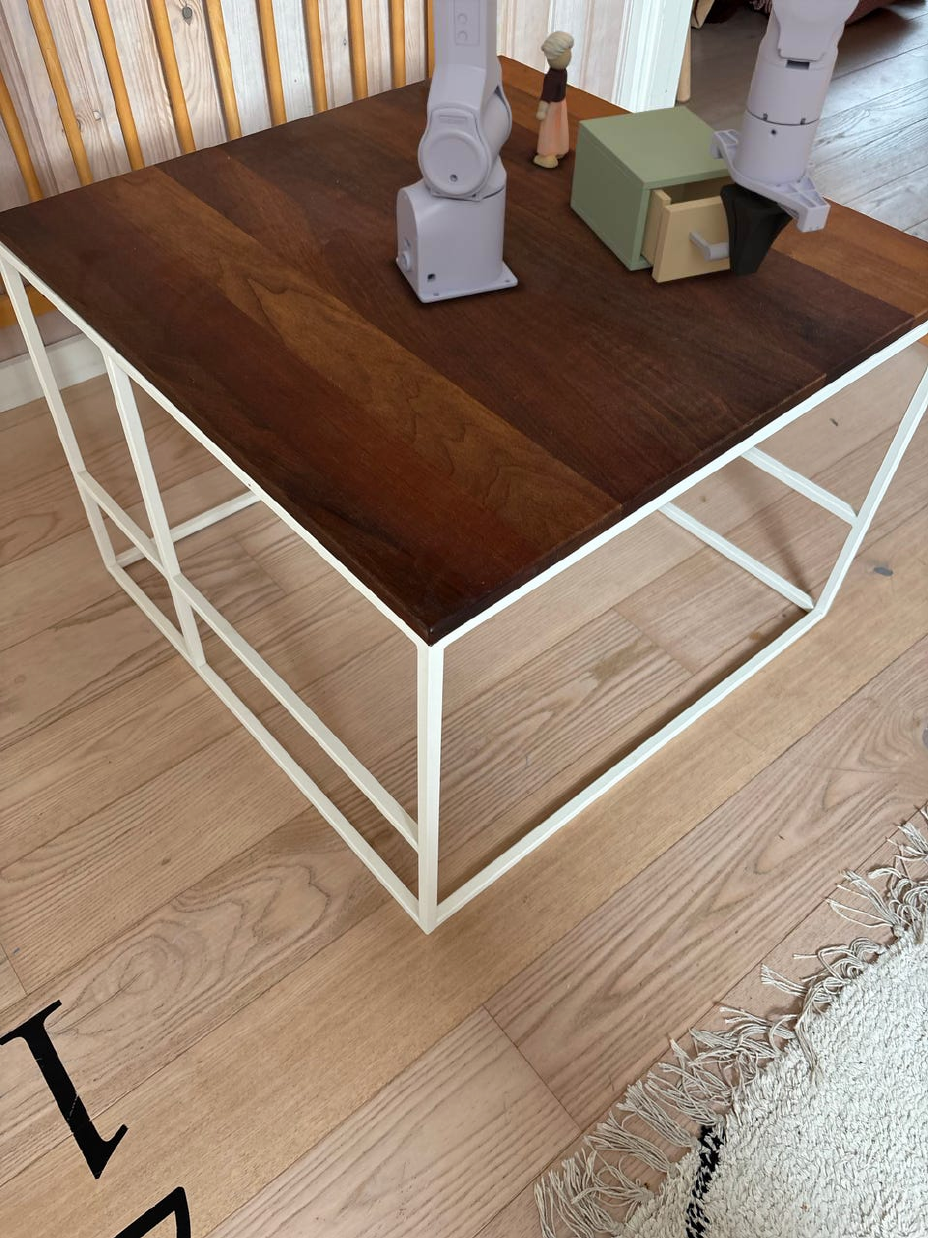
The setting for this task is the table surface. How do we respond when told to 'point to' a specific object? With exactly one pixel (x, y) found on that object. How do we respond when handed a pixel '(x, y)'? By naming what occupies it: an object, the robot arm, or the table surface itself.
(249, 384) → the table surface
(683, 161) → the cabinet
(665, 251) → the drawer
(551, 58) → the grandmother figurine
